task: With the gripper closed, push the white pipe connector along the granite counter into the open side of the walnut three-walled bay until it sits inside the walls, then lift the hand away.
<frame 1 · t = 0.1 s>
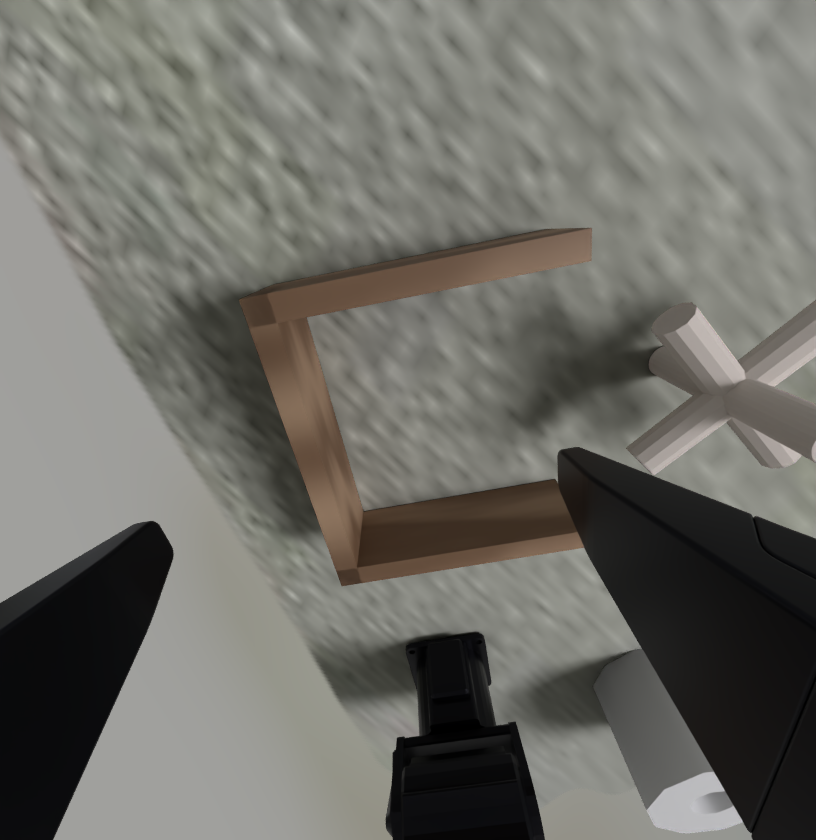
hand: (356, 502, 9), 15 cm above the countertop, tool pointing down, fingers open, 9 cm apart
walnut bay: (442, 401, 24), on the countertop
pipe connector: (662, 359, 23), on the countertop
toilet tissue: (650, 684, 37), on the countertop
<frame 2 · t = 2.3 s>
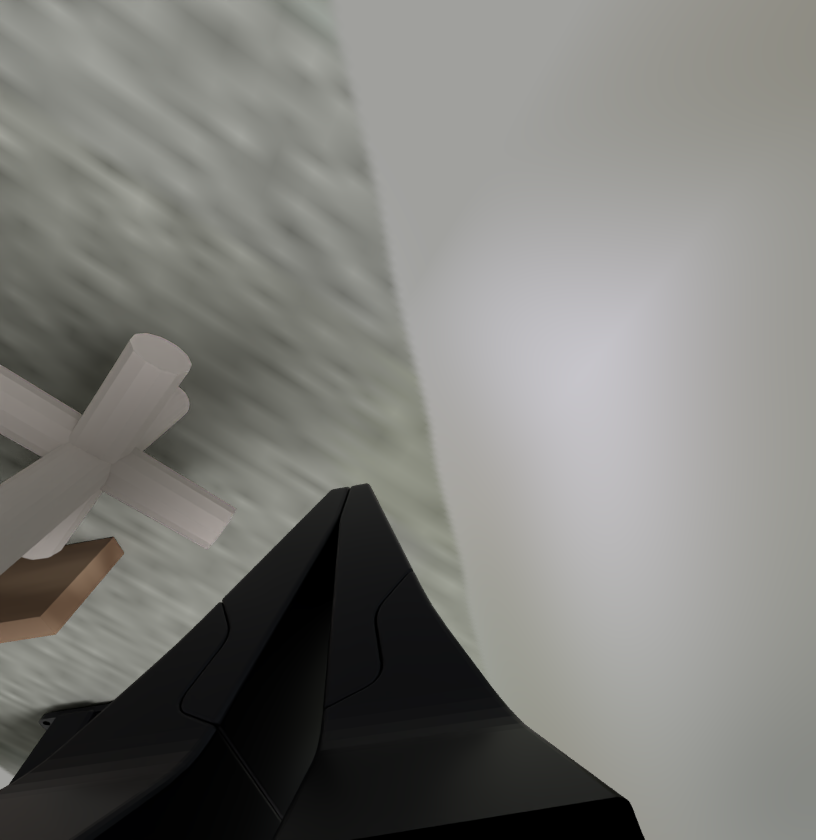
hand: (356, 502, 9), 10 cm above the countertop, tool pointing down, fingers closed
pipe connector: (171, 399, 19), on the countertop
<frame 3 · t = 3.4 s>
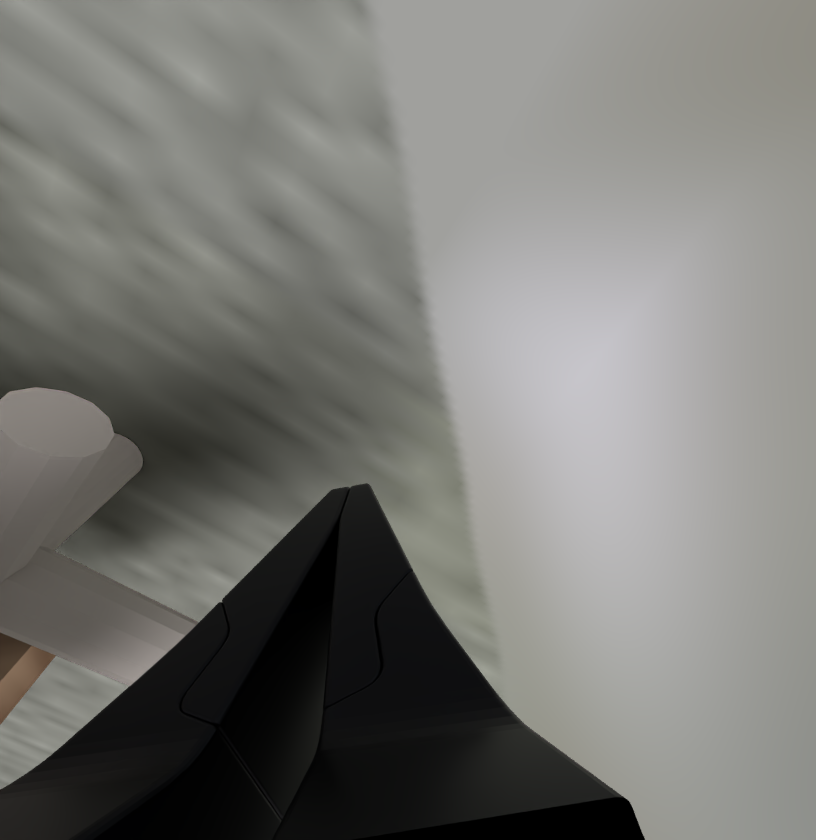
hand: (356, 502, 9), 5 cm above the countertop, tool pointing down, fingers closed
pipe connector: (118, 452, 14), on the countertop
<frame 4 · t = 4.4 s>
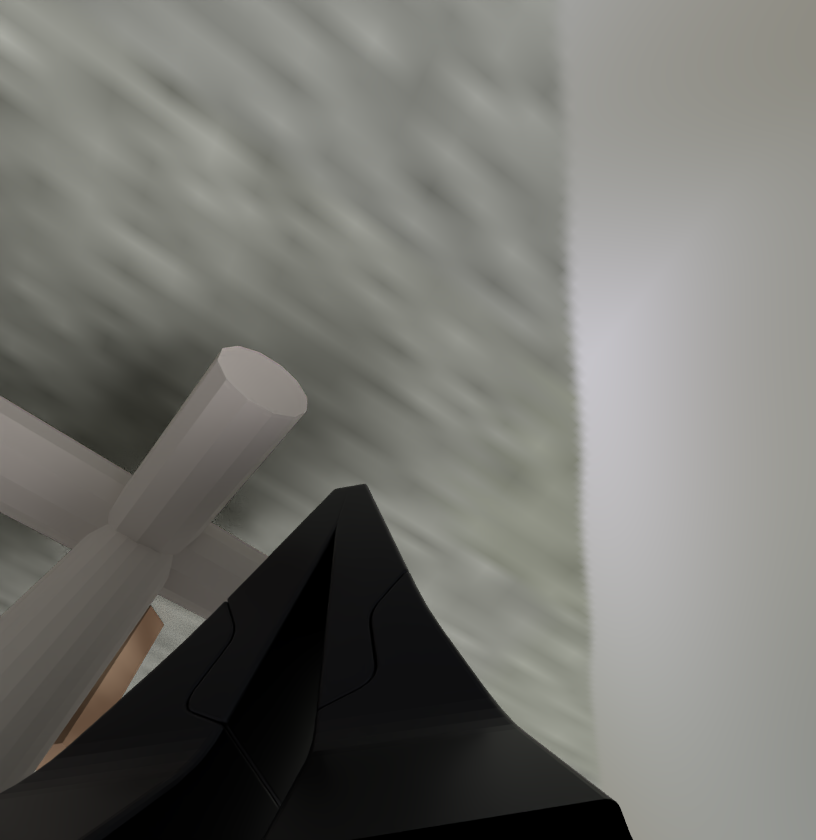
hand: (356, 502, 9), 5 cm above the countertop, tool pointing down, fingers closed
pipe connector: (238, 430, 14), on the countertop, touching gripper
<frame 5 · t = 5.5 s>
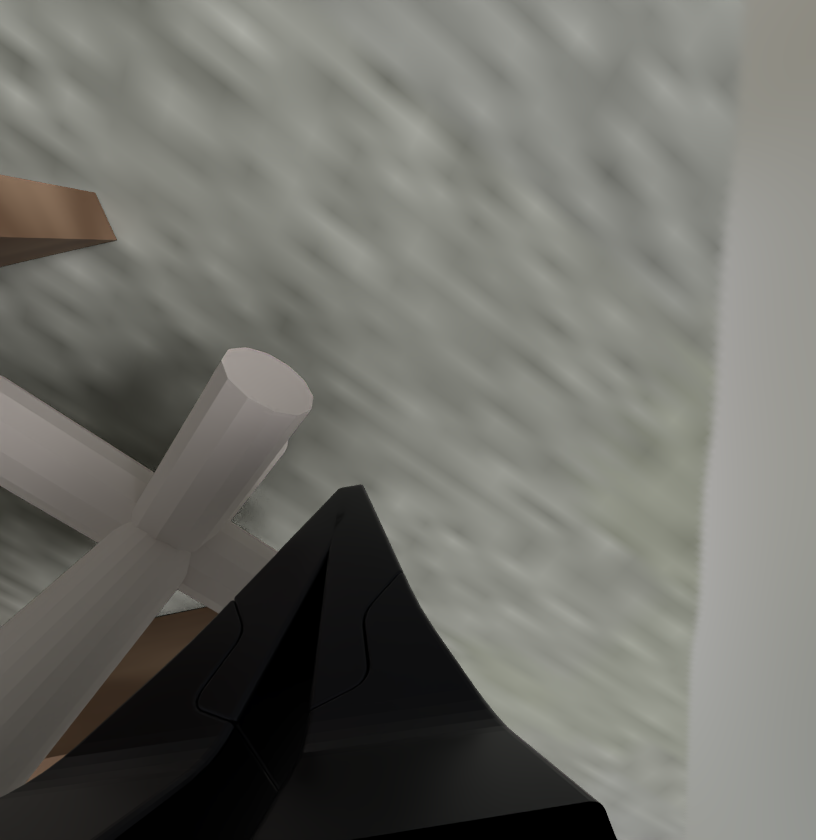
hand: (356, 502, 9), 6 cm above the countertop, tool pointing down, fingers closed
walnut bay: (40, 488, 14), on the countertop
pipe connector: (265, 434, 14), on the countertop, touching gripper
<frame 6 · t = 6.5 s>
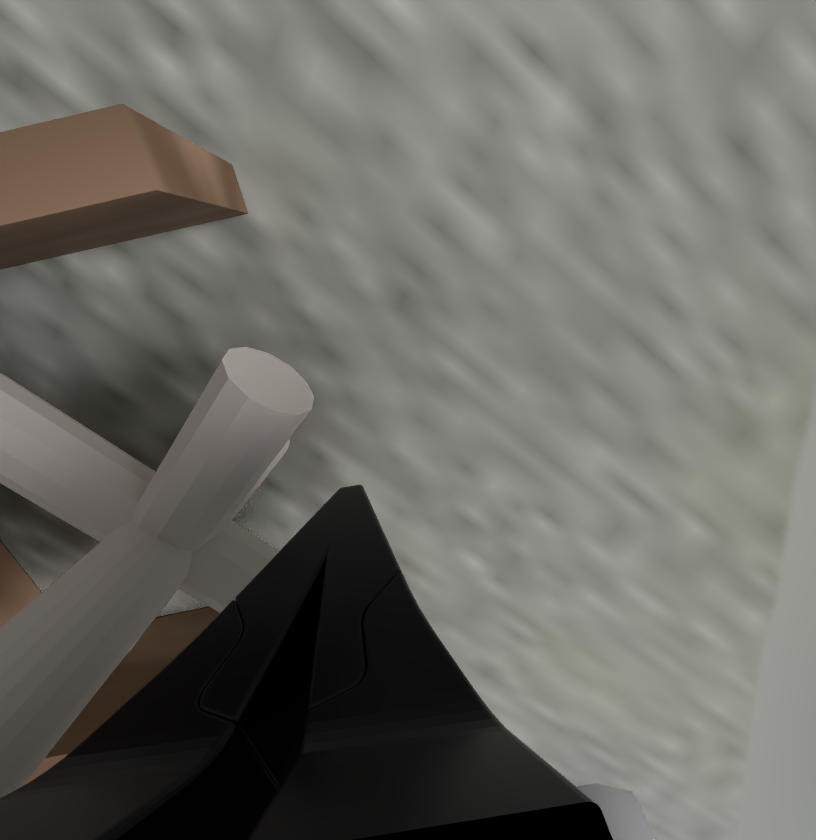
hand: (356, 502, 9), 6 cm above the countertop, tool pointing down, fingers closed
walnut bay: (143, 467, 14), on the countertop
pipe connector: (266, 434, 14), on the countertop, touching gripper
toilet tissue: (580, 825, 27), on the countertop
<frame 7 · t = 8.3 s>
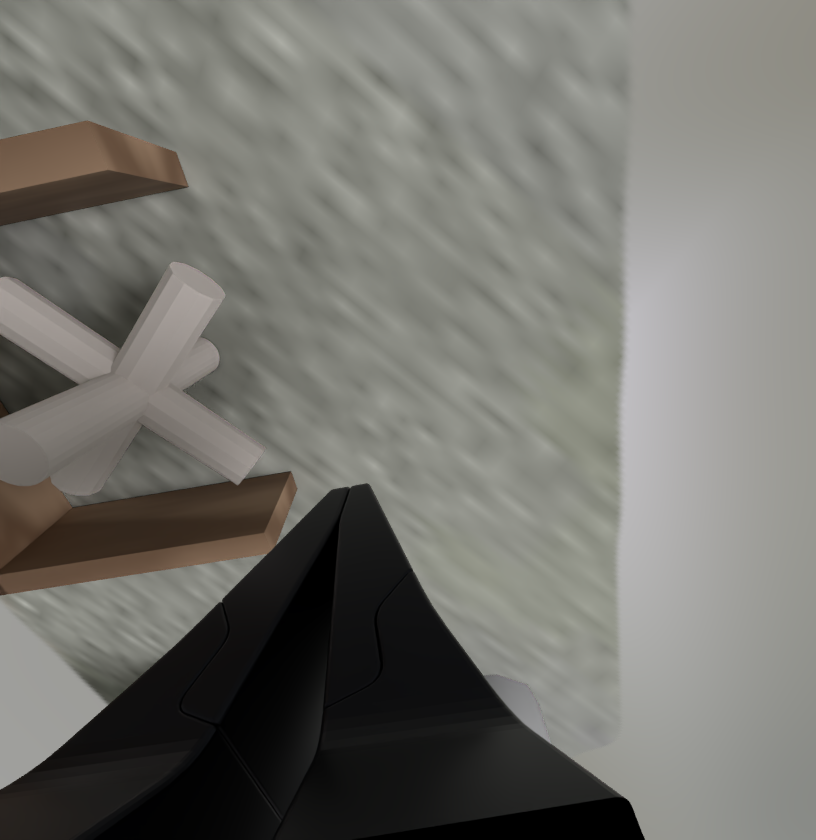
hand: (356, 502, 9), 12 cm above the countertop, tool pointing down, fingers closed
walnut bay: (120, 374, 20), on the countertop
pipe connector: (202, 354, 19), on the countertop
toilet tissue: (489, 715, 33), on the countertop
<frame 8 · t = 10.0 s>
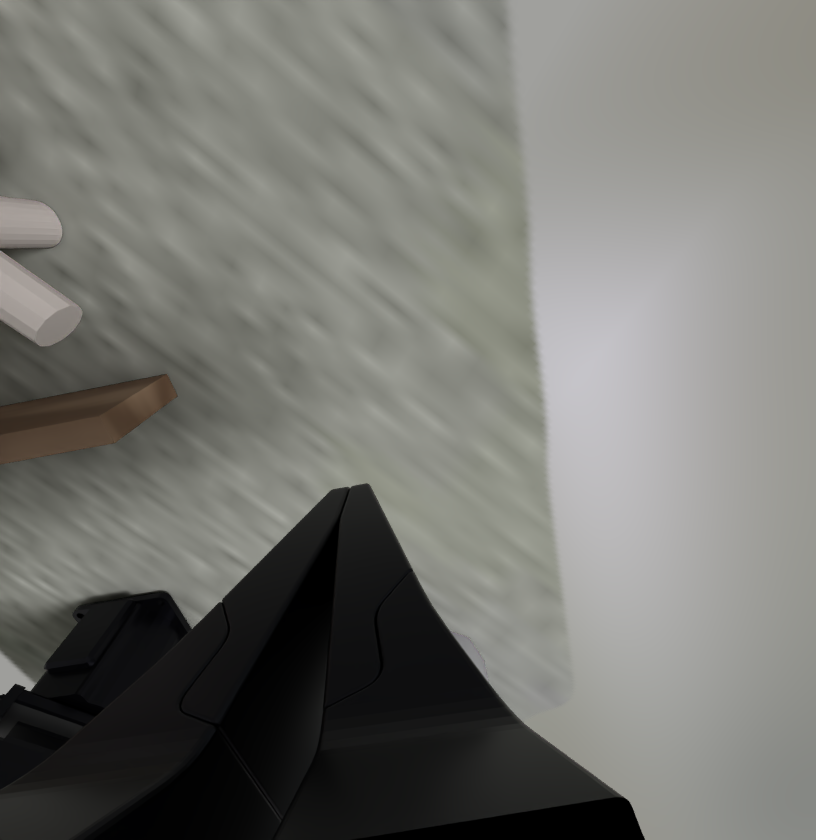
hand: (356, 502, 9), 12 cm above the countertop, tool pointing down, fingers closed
pipe connector: (43, 224, 17), on the countertop
toilet tissue: (432, 673, 31), on the countertop
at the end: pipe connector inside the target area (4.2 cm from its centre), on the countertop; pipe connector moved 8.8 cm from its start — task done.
